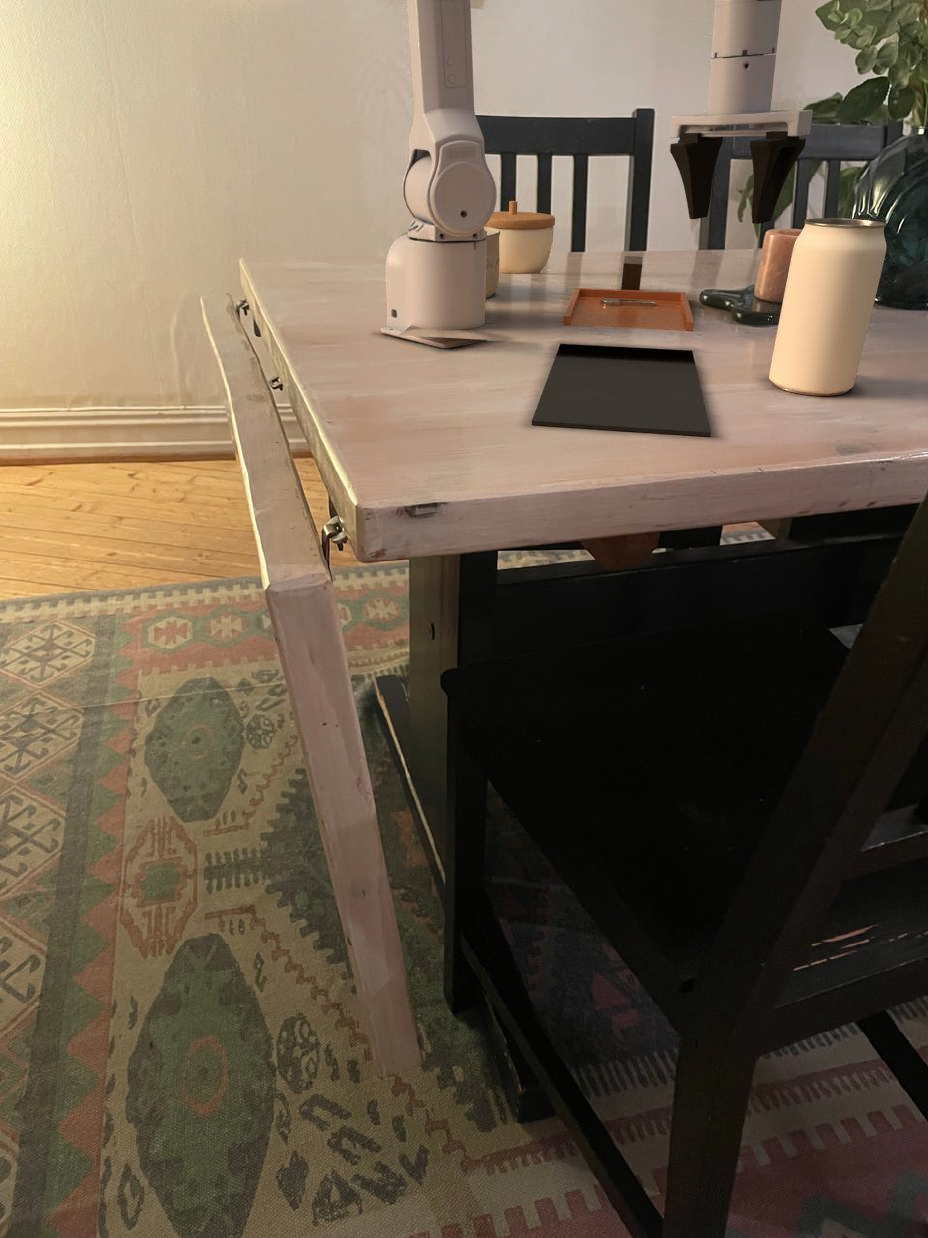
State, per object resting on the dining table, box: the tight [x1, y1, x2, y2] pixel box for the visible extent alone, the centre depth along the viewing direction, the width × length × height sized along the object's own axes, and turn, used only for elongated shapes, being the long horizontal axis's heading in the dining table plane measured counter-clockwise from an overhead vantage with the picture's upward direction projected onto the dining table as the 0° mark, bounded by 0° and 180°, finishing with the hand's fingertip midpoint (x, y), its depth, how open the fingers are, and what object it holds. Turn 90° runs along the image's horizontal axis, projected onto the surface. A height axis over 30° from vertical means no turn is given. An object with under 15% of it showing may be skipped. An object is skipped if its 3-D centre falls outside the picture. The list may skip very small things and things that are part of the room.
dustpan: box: [563, 255, 695, 332], centre depth 89 cm, size 12×22×4 cm, turn 170°
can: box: [768, 217, 887, 397], centre depth 66 cm, size 6×6×12 cm
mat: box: [531, 343, 712, 437], centre depth 69 cm, size 12×26×1 cm, turn 170°
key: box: [600, 298, 656, 307], centre depth 91 cm, size 6×2×1 cm, turn 80°
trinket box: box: [484, 200, 556, 274], centre depth 111 cm, size 11×11×9 cm
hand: (728, 220), depth 85 cm, fingers open, 7 cm apart
